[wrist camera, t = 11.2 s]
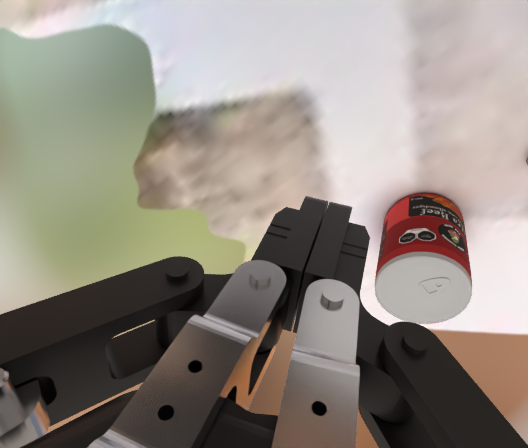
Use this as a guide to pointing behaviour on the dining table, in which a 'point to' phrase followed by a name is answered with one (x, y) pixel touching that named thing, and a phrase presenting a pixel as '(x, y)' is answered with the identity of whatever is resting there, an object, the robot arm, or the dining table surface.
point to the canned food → (423, 261)
